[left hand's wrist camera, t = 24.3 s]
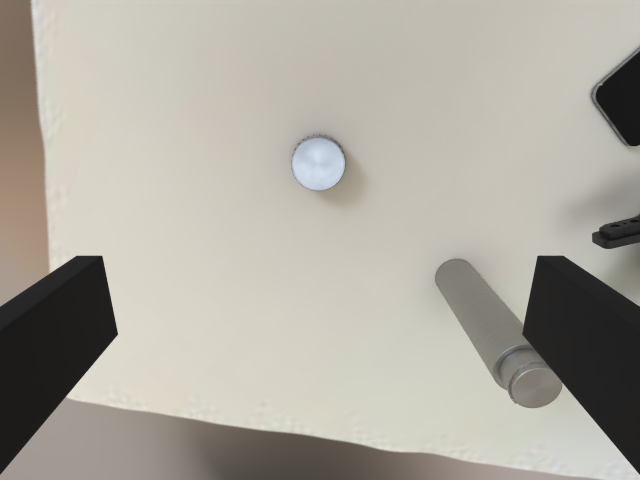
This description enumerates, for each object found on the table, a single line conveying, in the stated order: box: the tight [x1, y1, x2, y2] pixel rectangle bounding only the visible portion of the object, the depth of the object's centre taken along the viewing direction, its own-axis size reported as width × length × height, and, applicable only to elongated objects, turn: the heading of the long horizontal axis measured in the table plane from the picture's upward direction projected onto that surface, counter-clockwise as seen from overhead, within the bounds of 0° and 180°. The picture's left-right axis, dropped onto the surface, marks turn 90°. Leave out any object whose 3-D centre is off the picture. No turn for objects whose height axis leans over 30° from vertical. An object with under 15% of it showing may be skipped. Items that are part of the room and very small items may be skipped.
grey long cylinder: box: [435, 259, 562, 408], centre depth 35 cm, size 4×4×17 cm
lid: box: [291, 134, 345, 191], centre depth 37 cm, size 5×5×2 cm
